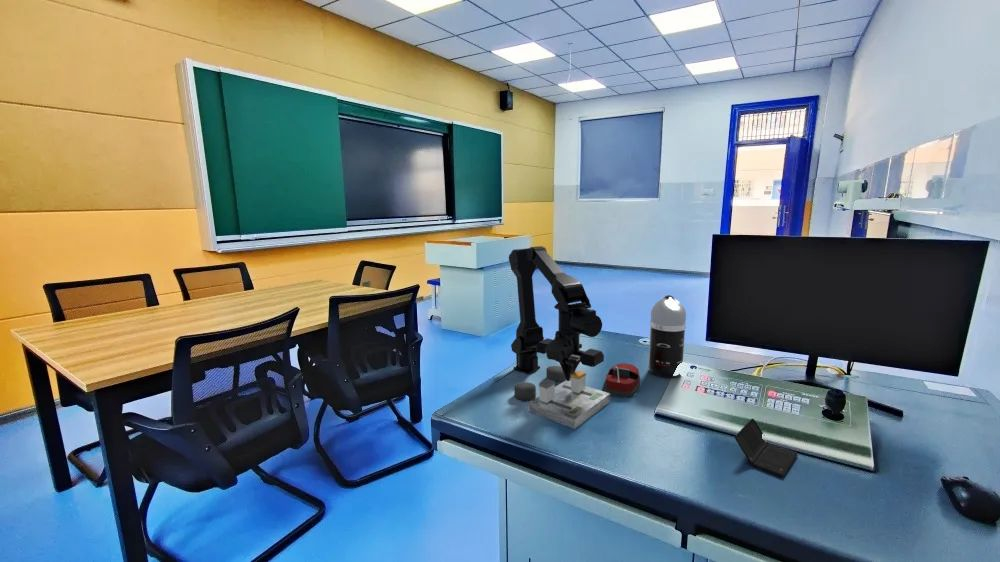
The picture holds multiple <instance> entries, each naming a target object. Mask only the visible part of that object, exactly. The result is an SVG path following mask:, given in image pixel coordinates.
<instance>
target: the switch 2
mask: <svg viewBox="0 0 1000 562" xmlns="http://www.w3.org/2000/svg"><path fill="white" fill-rule="evenodd" d="M586 376H587V372H586V371H585V372H584V371H582V370H575V372H574V373H573V374H571V391H573V392H576V393H580V392H581V391H583V390H584V389H585V386H586V381H587V380H586Z"/></svg>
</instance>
